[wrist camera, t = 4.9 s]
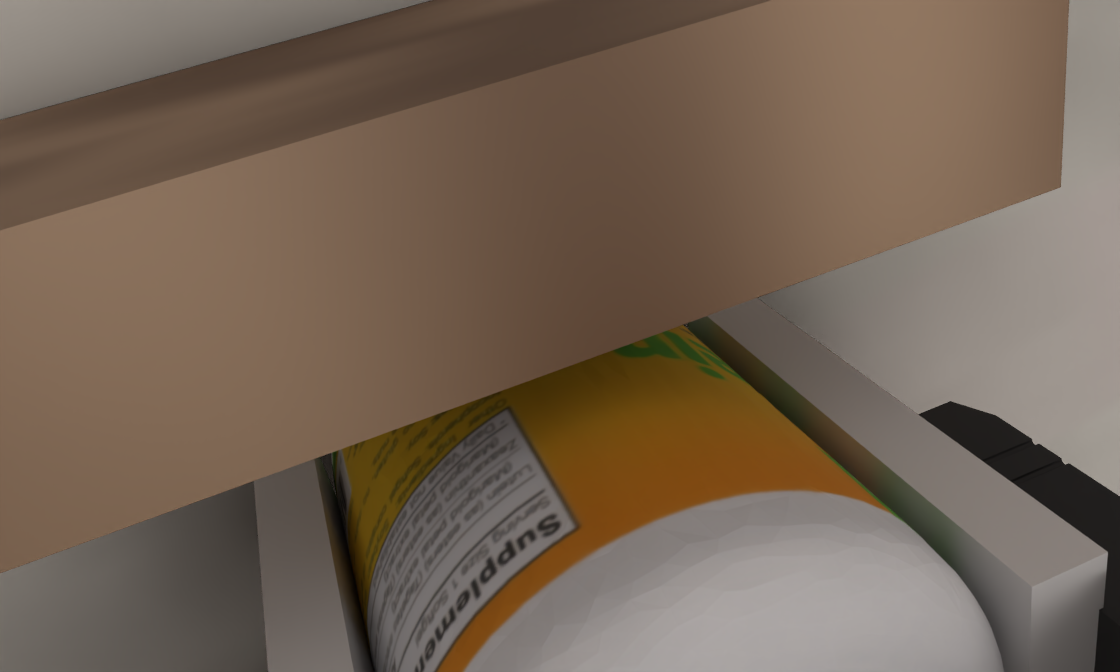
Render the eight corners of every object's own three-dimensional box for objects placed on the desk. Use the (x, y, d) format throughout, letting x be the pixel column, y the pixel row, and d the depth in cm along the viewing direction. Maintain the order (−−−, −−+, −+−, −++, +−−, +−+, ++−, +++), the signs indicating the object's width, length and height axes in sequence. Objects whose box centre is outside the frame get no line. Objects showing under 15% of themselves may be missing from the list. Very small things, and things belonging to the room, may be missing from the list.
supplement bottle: (741, 354, 15) (1421, 930, 7) (540, 610, 16) (920, 1419, 7) (474, 165, 12) (1041, 728, 4) (248, 485, 13) (320, 1522, 5)
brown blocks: (317, 792, 16) (354, 1125, 12) (-34, 130, 10) (-209, 292, 6) (834, 568, 18) (1034, 782, 13) (770, -94, 12) (1072, -89, 8)
